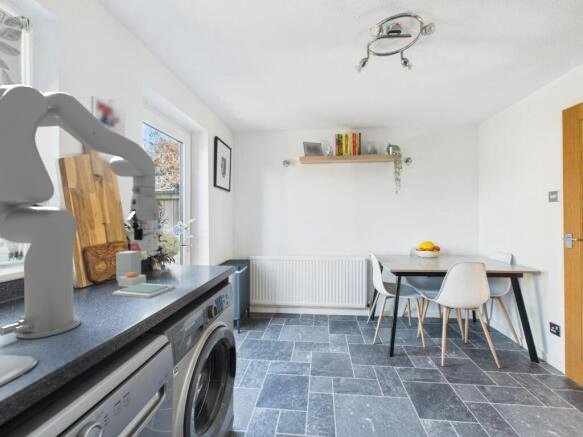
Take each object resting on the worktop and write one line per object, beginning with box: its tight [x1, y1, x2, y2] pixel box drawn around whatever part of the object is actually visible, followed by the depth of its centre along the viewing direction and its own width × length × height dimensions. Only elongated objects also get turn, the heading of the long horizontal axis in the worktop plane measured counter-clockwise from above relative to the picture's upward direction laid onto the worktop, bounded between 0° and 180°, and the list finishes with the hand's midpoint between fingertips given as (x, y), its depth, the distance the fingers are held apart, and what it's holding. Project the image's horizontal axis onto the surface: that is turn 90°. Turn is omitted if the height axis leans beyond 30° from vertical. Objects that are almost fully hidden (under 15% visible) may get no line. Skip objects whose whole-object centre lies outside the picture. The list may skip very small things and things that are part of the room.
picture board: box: [112, 282, 176, 299], centre depth 106 cm, size 14×16×1 cm
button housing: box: [117, 274, 147, 288], centre depth 116 cm, size 7×7×4 cm
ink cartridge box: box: [130, 213, 159, 252], centre depth 105 cm, size 9×5×15 cm, turn 85°
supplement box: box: [115, 250, 142, 282], centre depth 126 cm, size 7×7×13 cm
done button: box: [127, 272, 138, 278], centre depth 116 cm, size 4×4×2 cm
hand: (144, 238), depth 105 cm, fingers closed on ink cartridge box, 5 cm apart
